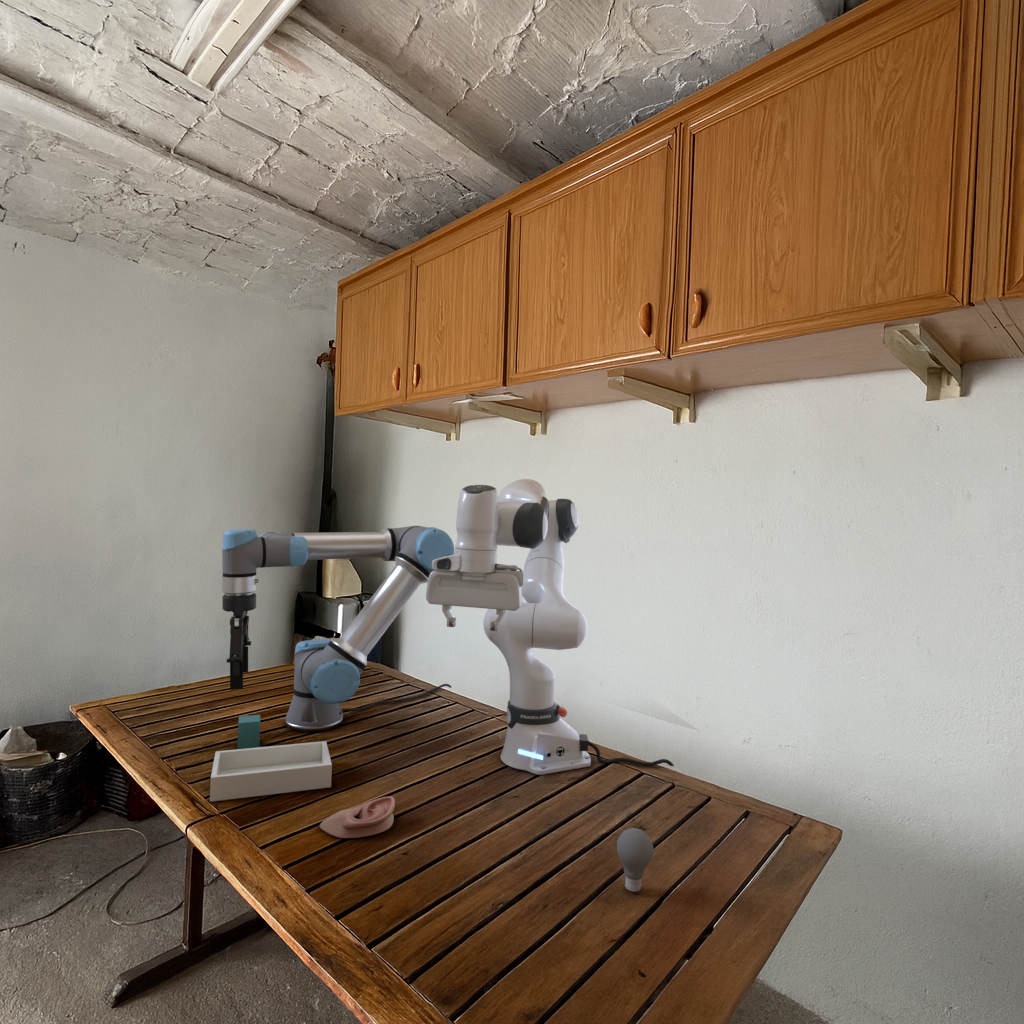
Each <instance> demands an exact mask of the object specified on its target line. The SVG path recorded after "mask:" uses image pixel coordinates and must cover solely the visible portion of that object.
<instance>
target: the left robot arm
mask: <svg viewBox="0 0 1024 1024" xmlns="http://www.w3.org/2000/svg"><path fill="white" fill-rule="evenodd" d="M221 553H222V554H221V557H222V558H221V559H222V565H221V566H222V576H221V584H222V585H221V592H222V593H223V595H222V610H223V611H224V612H228V613H230V612H231V613H232V616H231V617H230V618H229V626H230V629H229V634H230V637H229V638H230V640H229V657H228V658H226V663H227V664H228V663H229V691H235V690H244V674H249V646H252V641H251V640H250V637H249V623H250V616H249V615H248V612H249V611H253V610H255V609H257V594H256V593H255V592H256V591H257V584H258V583H260V580H259V578H257V569H263V568H281V567H282V568H285V567H286V568H287V567H291V568H293V567H300V566H304V565H306V563H307V561H316V560H317V561H322V560H325V561H326V560H353V559H354V560H357V559H360V560H361V559H381V560H382V561H383V562H395V565H394V567H393V569H392V570H391V571H390V572H389V574H388V575H387V576H386V578H384V580H383V581H382V583H381V584H380V585H379V586H378V588H377V589H376V590H375V592H374V593H373V594H372V596H371V597H370V598H369V599H368V601H367V602H366V604H365V605H364V606H363V607H362V608H361V610H360V611H359V613H358V614H357V615H356V616H355V618H354V619H353V620H352V621H351V623H350V624H349V626H348V627H347V628H346V629H345V631H344V632H343V633H342V634H341V636H339V637H338V638H336V639H330V638H328V639H319V640H313V639H307V640H302V641H299V642H297V644H295V650H294V672H293V673H294V674H293V695H292V696H293V697H292V699H291V702H290V704H289V708H288V711H287V713H286V715H285V726H286V728H287V729H289V730H291V731H294V732H295V731H296V732H301V733H316V732H325V731H329V730H332V729H335V728H337V727H339V726H340V725H342V723H343V722H344V714H343V712H358V711H363V710H366V709H369V708H371V707H374V706H377V705H382V704H390V703H391V704H392V703H400V702H405V701H411V700H415V699H419V698H422V697H425V696H427V695H428V694H430V693H432V692H434V691H437V690H439V689H441V688H444V687H448V688H452V685H451V684H448V683H443V684H441V685H438V686H436V687H434V688H431V689H430V690H428V691H426V692H423V693H421V694H418V695H414V696H410V697H405V698H398V699H389V700H380V701H376V702H375V701H374V702H372V703H369V704H368V705H365V706H362V707H356V708H355V707H353V708H352V707H346V708H342V706H341V703H344V702H346V701H348V700H349V699H351V698H352V697H353V696H354V695H355V694H356V693H357V691H358V690H359V686H360V682H361V674H362V673H363V672H364V671H365V669H366V667H367V666H368V661H367V658H368V655H369V654H370V653H371V651H372V649H374V647H375V646H376V645H377V643H378V642H379V641H380V639H381V638H382V636H383V635H384V634H385V632H386V631H387V630H388V628H389V627H390V626H391V625H392V623H393V622H394V621H395V619H396V618H397V617H398V615H399V614H400V612H401V611H402V610H403V608H404V607H405V606H406V605H407V603H408V602H409V600H410V599H411V598H412V596H413V595H414V594H415V593H416V591H417V590H418V588H419V587H420V585H424V584H427V582H428V578H429V575H430V573H431V572H432V571H434V569H433V568H432V561H433V560H435V559H437V558H441V557H445V556H446V555H449V554H452V555H453V554H454V553H455V545H454V541H453V539H452V537H451V536H450V535H449V534H448V533H447V532H445V530H442V529H440V528H437V527H433V526H423V525H422V526H421V525H410V526H402V527H389V528H387V527H385V528H383V529H382V530H381V531H347V532H345V531H343V532H341V531H339V532H338V531H337V532H333V531H332V532H276V531H269V532H264V533H262V534H261V535H259V536H258V535H257V530H256V529H254V528H253V529H252V528H232V529H227V530H225V531H224V533H223V534H222V547H221Z"/></svg>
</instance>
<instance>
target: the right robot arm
mask: <svg viewBox="0 0 1024 1024" xmlns="http://www.w3.org/2000/svg"><path fill="white" fill-rule="evenodd" d="M456 509H457V510H456V520H455V529H456V532H457V533H456V534H457V538H456V542H455V545H454V554H453V555H452V554H449V555H446V556H445V557H441V558H437V559H435V560H433V561H432V568H433V569H434V571H432V572H431V573H430V575H429V578H428V582H427V583H426V590H425V600H426V602H427V603H428V604H430V605H440V606H441V611H442V613H443V615H444V617H445V618H446V627H448V628H455V627H456V625H457V623H456V621H457V617H453V615H452V613H451V611H450V610H451V609H452V607H462V608H476V609H487V610H486V612H485V614H484V617H483V623H482V624H483V630H484V634H485V635H486V637H487V639H488V640H489V641H490V642H491V643H492V644H493V645H495V647H496V648H497V649H498V650H499V651H500V653H501V654H502V656H503V657H504V659H505V662H506V665H507V668H508V674H509V700H508V701H507V708H506V724H507V728H506V733H505V739H504V744H503V747H502V751H501V753H500V761H501V762H502V763H503V764H505V765H506V766H508V767H511V768H514V769H517V770H520V771H526V772H529V773H531V774H534V775H538V776H543V775H547V774H548V775H549V774H554V773H559V772H565V771H572V770H577V769H582V768H587V767H590V766H591V765H592V758H591V755H590V754H589V753H588V752H589V747H590V748H592V749H593V750H594V751H595V754H596V759H597V761H598V762H600V763H601V764H612V763H619V762H622V763H624V762H625V763H629V764H633V765H637V766H642V767H654V766H658V765H661V764H667V766H670V767H675V765H674V764H673V762H672V761H670V760H669V759H666V758H660V759H657V760H654V761H650V762H649V761H641V760H637V759H632V758H627V757H614V758H611V759H605V758H604V759H603V758H602V757H601V751H600V749H599V747H598V746H597V745H596V744H594V743H593V742H591V740H590V741H589V738H588V734H585V733H583V734H582V733H579V732H577V730H576V729H574V727H573V726H571V725H570V724H569V723H568V722H567V721H565V720H564V719H562V718H565V717H566V716H567V715H568V711H567V708H564V706H561V705H560V704H558V703H556V702H555V685H556V676H555V673H554V671H553V669H552V668H551V667H550V666H549V664H546V662H544V661H541V660H540V659H539V658H537V657H536V656H535V655H534V653H533V651H532V649H540V650H541V649H542V650H553V651H554V650H555V651H563V650H571V649H577V648H579V647H580V646H581V645H582V644H583V643H584V641H585V639H586V638H587V634H588V621H587V618H586V616H585V615H584V613H583V612H582V610H580V609H579V608H578V607H576V606H574V605H573V604H571V603H570V601H568V599H567V598H566V596H565V595H564V578H565V577H564V576H565V556H564V551H563V547H562V544H563V543H564V544H568V543H570V540H571V538H572V537H573V536H574V535H575V534H576V532H577V530H578V527H579V521H580V517H579V516H580V515H579V511H578V508H577V507H576V505H575V503H574V502H573V501H572V500H571V499H570V498H556V499H549V500H548V498H547V495H546V491H545V489H544V487H543V485H542V484H541V483H540V482H538V481H537V480H535V479H529V478H522V479H518V480H515V481H512V482H510V483H508V484H507V485H506V486H504V487H503V488H502V489H501V490H500V492H499V494H498V491H497V488H496V487H494V486H492V485H489V484H488V485H487V484H474V485H473V484H472V485H471V484H470V485H467V486H464V487H463V488H462V489H460V493H459V496H458V502H457V508H456ZM498 546H503V547H504V546H505V547H517V548H518V547H520V548H522V549H523V548H524V549H530V550H529V551H528V554H527V557H526V559H525V562H524V566H523V569H522V568H520V567H518V565H515V564H510V565H509V564H503V563H502V564H501V563H498ZM523 600H524V601H525V602H523Z"/></svg>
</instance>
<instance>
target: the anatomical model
mask: <svg viewBox="0 0 1024 1024" xmlns="http://www.w3.org/2000/svg"><path fill="white" fill-rule="evenodd" d="M395 806H396V799H395V797H393V796H392V795H391V796H390V795H389V796H388V795H387V796H383V797H379V798H376V799H372V800H369V801H367V802H365V803H362V804H360V805H358V806H355V807H352V808H346V809H345V808H344V809H342V810H340V811H337V812H335V813H333V814H331V815H329V816H328V817H327V818H325V819H324V820H322V821H321V823H320V824H319V828H320V829H321V830H322V831H324V832H325V833H326V834H329V835H331V836H333V837H335V838H339V839H354V838H355V839H356V838H363V837H369V836H373V835H377V834H381V833H383V832H385V831H387V830H389V829H390V828H391V827H392V826H393V824H394V820H395V817H394V814H393V813H394V810H395Z"/></svg>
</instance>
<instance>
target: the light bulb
mask: <svg viewBox="0 0 1024 1024" xmlns="http://www.w3.org/2000/svg"><path fill="white" fill-rule="evenodd" d="M616 852H617V856H618V858H619V860H620V862H621V864H622V866H623V872H624V875H625V882H624V887H625V889H627V890H628V891H630V892H633V893H634V892H635V893H636V892H639V891H641V889H642V878H643V876H644V875H645V869H646V868H647V867H648V865H649V864H650V862H651V860H652V858H653V855H654V845H653V842H652V840H651V838H650V836H649V835H648V834H647V832H645V831H644V830H642V829H640V828H636V827H629V828H627V829H625V830H624V831H623V832H622V833H620V835H619V836H618V839H617V841H616Z"/></svg>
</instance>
